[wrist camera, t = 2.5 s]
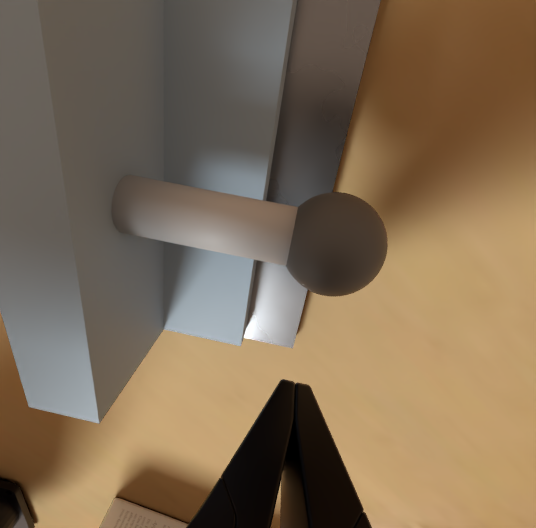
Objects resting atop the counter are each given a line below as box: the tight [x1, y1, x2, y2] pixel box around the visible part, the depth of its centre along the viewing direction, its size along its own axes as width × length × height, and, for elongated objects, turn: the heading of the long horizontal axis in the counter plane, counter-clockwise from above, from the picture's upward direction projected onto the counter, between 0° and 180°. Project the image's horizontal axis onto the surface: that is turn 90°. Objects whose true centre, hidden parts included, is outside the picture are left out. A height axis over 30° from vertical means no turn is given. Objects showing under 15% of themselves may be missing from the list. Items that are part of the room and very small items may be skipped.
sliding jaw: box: [0, 0, 387, 423], centre depth 8 cm, size 11×8×5 cm
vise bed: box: [244, 0, 381, 348], centre depth 11 cm, size 12×10×1 cm
